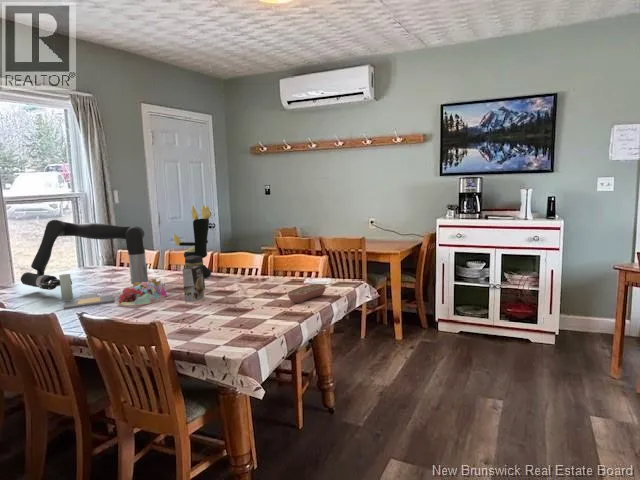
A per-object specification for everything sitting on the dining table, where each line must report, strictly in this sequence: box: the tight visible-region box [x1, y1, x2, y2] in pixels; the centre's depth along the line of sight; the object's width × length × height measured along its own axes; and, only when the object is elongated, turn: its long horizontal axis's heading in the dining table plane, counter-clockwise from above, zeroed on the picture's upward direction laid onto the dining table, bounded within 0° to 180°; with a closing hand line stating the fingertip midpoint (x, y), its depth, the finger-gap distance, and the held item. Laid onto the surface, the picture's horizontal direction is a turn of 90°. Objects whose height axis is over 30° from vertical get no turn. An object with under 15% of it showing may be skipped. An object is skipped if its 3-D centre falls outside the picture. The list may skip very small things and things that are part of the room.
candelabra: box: [173, 203, 212, 279], centre depth 274 cm, size 19×22×45 cm
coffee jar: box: [184, 255, 206, 289], centre depth 244 cm, size 10×8×19 cm
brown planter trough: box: [287, 283, 327, 304], centre depth 216 cm, size 23×10×5 cm, turn 142°
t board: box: [62, 292, 115, 310], centre depth 230 cm, size 22×23×1 cm
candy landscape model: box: [117, 278, 168, 307], centre depth 229 cm, size 25×24×9 cm
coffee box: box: [182, 266, 205, 302], centre depth 224 cm, size 9×6×16 cm
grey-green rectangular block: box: [58, 273, 74, 302], centre depth 233 cm, size 5×5×13 cm
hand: (62, 284), depth 235 cm, fingers open, 8 cm apart
